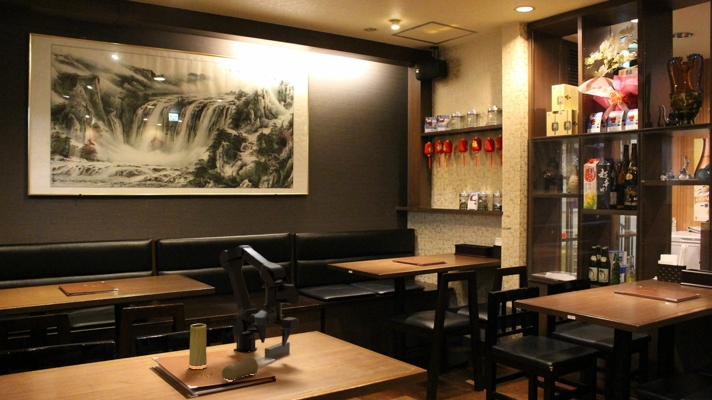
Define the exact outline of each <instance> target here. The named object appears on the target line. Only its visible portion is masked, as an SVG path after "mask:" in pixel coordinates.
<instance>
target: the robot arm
mask: <svg viewBox="0 0 712 400" xmlns="http://www.w3.org/2000/svg"><path fill="white" fill-rule="evenodd" d="M244 261H245V262H247V263H248V264H249V265H251V266H252V267H253V268H255V269H256V270H257V271H258V272H259V277H260V278H261V279H262V280H263V281H264V283H263V284H262V285H261V288H263V289H265V303H264V304H263V306H262V310H260V311H259V308H254V307H253V306H252V302H251V300H250V296H249V293H248V290H247V289H248V288H247V286H246V281H245V279H244V278H245V277H244V275H243V271H242V270H243V266H244ZM219 263H220V265H221V267H222V269H223V270H224V271H225V272H226V273H227V274H228V276H229V280H230V284H231V288H232V292H233V296H234V298H235V302H236V305H237V309H238V310H237V313H236V314H237V315H236V317H235V318H236V323H235V325H234V326H233V327H232V329H231V331H232V335H233V336H236V345H235V346H236V347H235V348H233V351H234V352H235V351H236V352H239V353H246V354H247V353H250V352H253V351H256V350H258V347H256V335H255V334H258V336H259V339H260V341H261V344H262V343H263V344H264V343H265V341H266V336H267V335H266V334H267V326H268V325H269V324H276V325H280V328H279V329H280V332H281V343H282V346H285V344H286V342H288V340H289V339H290V335H291V333H292V331H293V330H294V329H296V328H297V327H299V325H300V320H299V319H298V318H297V317H290V316H288V317H285V315H284V314H282V307H284V306H285V305H284V304H287V305H291V306H292V305H293V306H294V305H296V304H297V302H298V301H299V299H300V293H299V291H298V290H297V289H296V286H295V284H291V281H290V280H289V278H288V276H287V275H288V274H286V272H285V268H284V267H283V266H282V265H279V264H278V263H275V262H271V261H269V260H267V259H266V258H264V257H263V256H262V255H261V254H260V253H258V252H257V251H255V250H254V249H253V248H252V246H251V245H248V244H247V245H245V244H244V245H238V246H236V247H234V248H231V249H225V250H223V251H221V253H220V254H219ZM284 317H285V318H284Z"/></svg>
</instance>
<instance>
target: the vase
mask: <svg viewBox="0 0 712 400" xmlns="http://www.w3.org/2000/svg"><path fill="white" fill-rule="evenodd" d="M189 335H190V336H189V356H188V357H189V358H188V361H189V362H188V366H189V365H191V366H202V365H206V364H207V365H208V363H207V362H208V361H207V325H206V324H205V323H195V324H194V323H193V324H191V325H190V334H189Z"/></svg>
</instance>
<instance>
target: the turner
mask: <svg viewBox="0 0 712 400" xmlns="http://www.w3.org/2000/svg"><path fill="white" fill-rule="evenodd" d="M290 343H291V342H288V341H287V342H286V344H285V346H282V342H279V343H277V344H276V343H275V344H274V345H272V346H271V345H270V346H268V347H265V348H264V357H263V356H257V357H253V358H254V359H255V360H256V362H257V364H258V368H262V367H264V366H265V367H266V366H267V365H270V364H272V363H275V362H276V359H278V358H280V357H282V356H286V355H288V354H290V350H291V349H290V346H291V345H290Z"/></svg>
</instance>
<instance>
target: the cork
mask: <svg viewBox="0 0 712 400" xmlns="http://www.w3.org/2000/svg"><path fill="white" fill-rule="evenodd" d="M254 358H255V357H253V356H247V357H245V358H243V359H242V360H239V361H238V362H237V363H235V364H232V365H231V364H227V365H225V366H224V367H223V369H222V371H221V377H222V379H223V378H225V379H228V380H234V379H236V380H237V379H239V378H238V377H241V378H243V377H242V376H246V375H250V374H255V373H256V374H257V373H258V371H259V367H258V364H257V362H256V360H255V359H254ZM256 374H255V375H256ZM246 377H247V376H246ZM234 381H235V380H234Z"/></svg>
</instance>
